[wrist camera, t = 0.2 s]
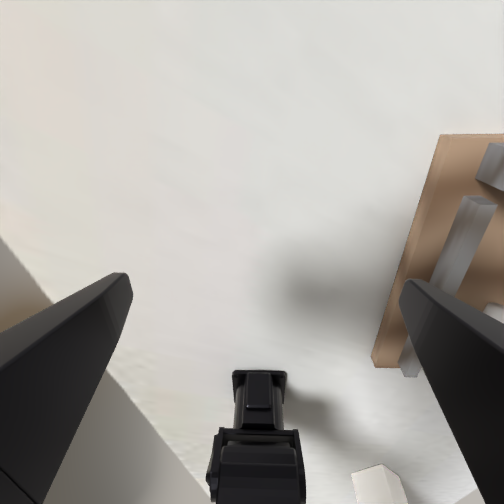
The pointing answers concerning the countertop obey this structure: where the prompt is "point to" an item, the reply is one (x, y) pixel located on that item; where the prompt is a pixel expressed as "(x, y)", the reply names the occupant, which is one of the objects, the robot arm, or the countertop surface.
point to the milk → (378, 486)
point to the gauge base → (451, 238)
